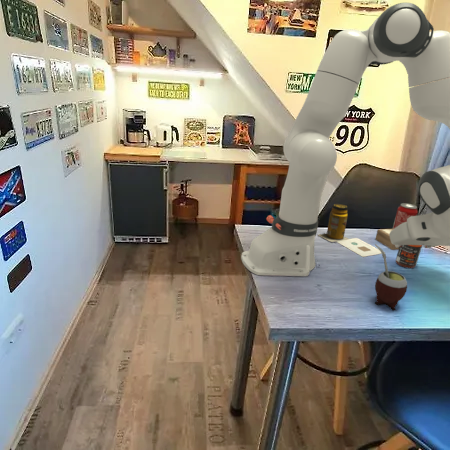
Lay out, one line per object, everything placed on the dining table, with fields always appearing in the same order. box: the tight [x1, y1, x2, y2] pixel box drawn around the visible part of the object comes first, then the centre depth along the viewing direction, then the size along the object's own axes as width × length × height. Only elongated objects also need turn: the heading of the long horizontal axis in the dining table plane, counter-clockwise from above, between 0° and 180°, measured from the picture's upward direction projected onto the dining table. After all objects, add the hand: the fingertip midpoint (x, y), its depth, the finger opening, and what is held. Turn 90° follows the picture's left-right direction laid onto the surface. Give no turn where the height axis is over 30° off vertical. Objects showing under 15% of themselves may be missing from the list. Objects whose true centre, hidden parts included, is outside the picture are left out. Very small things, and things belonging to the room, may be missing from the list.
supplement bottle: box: [395, 245, 423, 269], centre depth 109 cm, size 6×6×11 cm
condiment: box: [318, 203, 350, 243], centre depth 126 cm, size 7×8×12 cm
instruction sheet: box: [335, 237, 386, 258], centre depth 121 cm, size 10×13×1 cm
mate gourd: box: [374, 243, 408, 312], centre depth 86 cm, size 8×8×15 cm
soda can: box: [392, 202, 418, 229], centre depth 133 cm, size 7×7×12 cm
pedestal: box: [374, 228, 399, 251], centre depth 125 cm, size 9×9×4 cm
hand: (411, 245), depth 108 cm, fingers open, 8 cm apart
